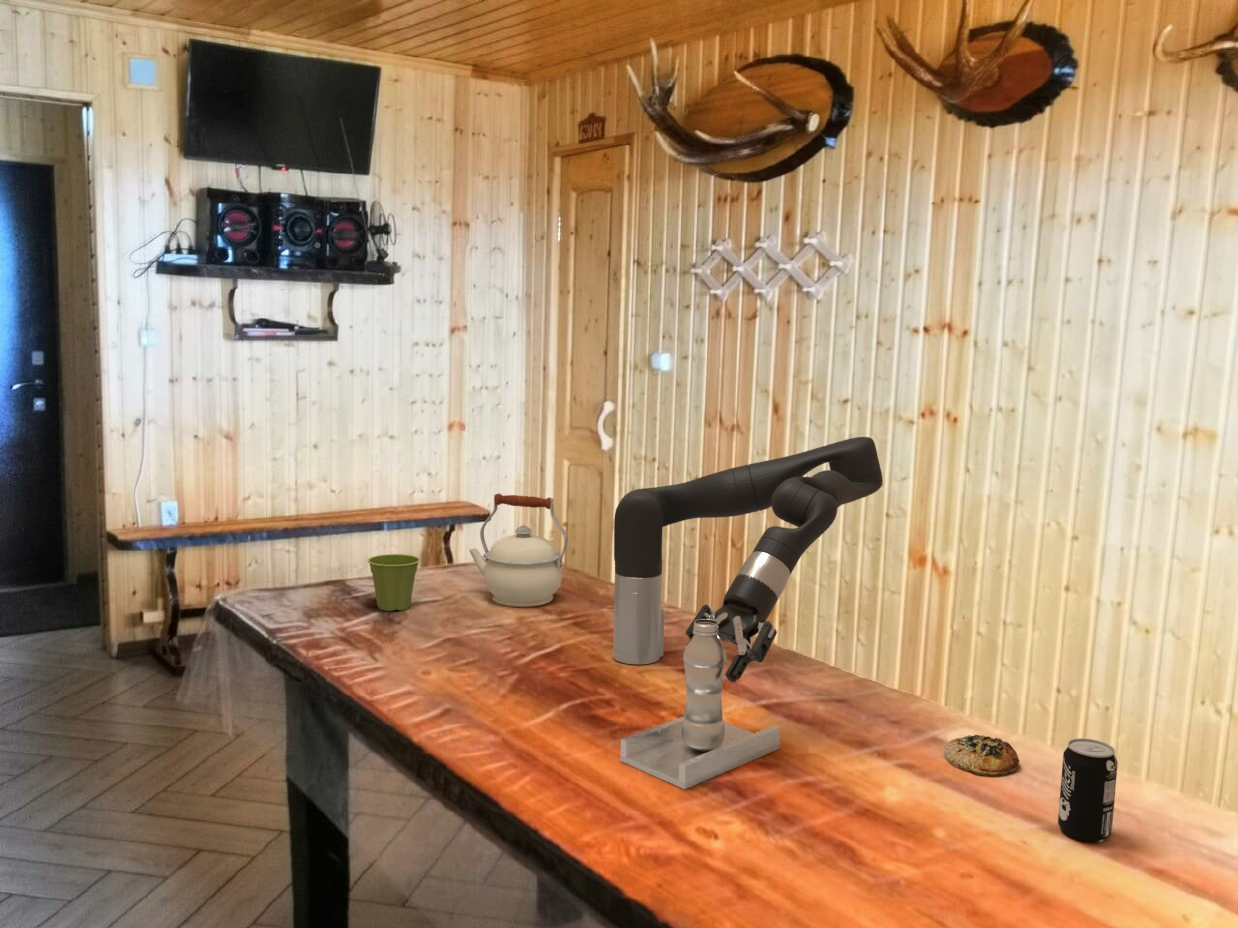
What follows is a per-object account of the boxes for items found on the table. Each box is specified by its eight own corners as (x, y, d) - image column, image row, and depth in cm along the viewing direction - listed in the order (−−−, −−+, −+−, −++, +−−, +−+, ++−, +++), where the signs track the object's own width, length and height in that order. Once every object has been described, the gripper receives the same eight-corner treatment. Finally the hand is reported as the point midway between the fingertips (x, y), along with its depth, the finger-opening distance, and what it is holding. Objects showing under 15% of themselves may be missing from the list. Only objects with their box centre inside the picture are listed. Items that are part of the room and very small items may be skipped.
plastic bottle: (722, 757, 162) (727, 629, 160) (678, 753, 163) (681, 626, 161) (726, 741, 169) (730, 617, 166) (683, 737, 170) (686, 614, 167)
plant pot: (415, 615, 239) (414, 565, 237) (362, 614, 239) (361, 564, 238) (425, 601, 251) (425, 554, 249) (374, 600, 251) (374, 552, 249)
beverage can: (1048, 821, 146) (1055, 737, 144) (1094, 820, 146) (1101, 736, 145) (1072, 845, 139) (1080, 757, 138) (1121, 844, 140) (1128, 756, 138)
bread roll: (1022, 754, 168) (1022, 725, 167) (1014, 791, 158) (1015, 761, 157) (948, 744, 173) (948, 716, 172) (937, 779, 163) (937, 749, 162)
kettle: (579, 594, 259) (581, 493, 256) (550, 614, 242) (551, 505, 238) (486, 584, 267) (486, 485, 264) (451, 602, 250) (451, 497, 246)
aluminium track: (715, 724, 178) (716, 704, 178) (779, 748, 169) (780, 727, 168) (620, 761, 163) (620, 738, 162) (684, 789, 153) (685, 766, 153)
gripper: (803, 609, 168) (754, 697, 161) (733, 591, 178) (684, 673, 172) (783, 581, 163) (733, 671, 157) (713, 565, 173) (662, 648, 167)
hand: (708, 672), depth 164 cm, fingers open, 8 cm apart
